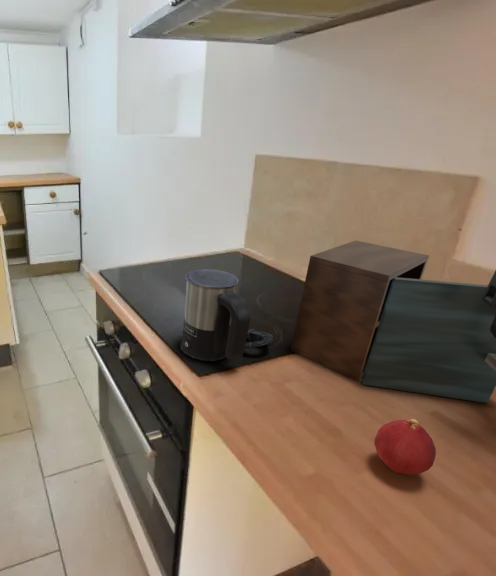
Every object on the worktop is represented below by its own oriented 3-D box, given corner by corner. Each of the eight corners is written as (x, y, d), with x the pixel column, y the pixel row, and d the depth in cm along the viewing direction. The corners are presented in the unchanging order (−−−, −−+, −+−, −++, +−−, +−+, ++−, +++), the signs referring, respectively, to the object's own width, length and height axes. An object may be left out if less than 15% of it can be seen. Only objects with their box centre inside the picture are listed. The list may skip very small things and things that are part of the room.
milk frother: (169, 347, 73) (174, 276, 68) (216, 322, 83) (223, 257, 77) (235, 381, 64) (247, 300, 58) (279, 347, 73) (293, 276, 68)
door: (517, 434, 52) (581, 313, 45) (377, 411, 57) (416, 297, 49) (483, 399, 59) (535, 289, 52) (361, 381, 63) (393, 276, 56)
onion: (374, 444, 51) (391, 396, 48) (428, 470, 47) (450, 419, 44) (362, 469, 47) (379, 418, 44) (419, 499, 43) (443, 446, 40)
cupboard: (397, 349, 73) (429, 255, 66) (357, 381, 64) (389, 275, 56) (333, 325, 82) (355, 240, 75) (290, 350, 73) (310, 255, 65)
